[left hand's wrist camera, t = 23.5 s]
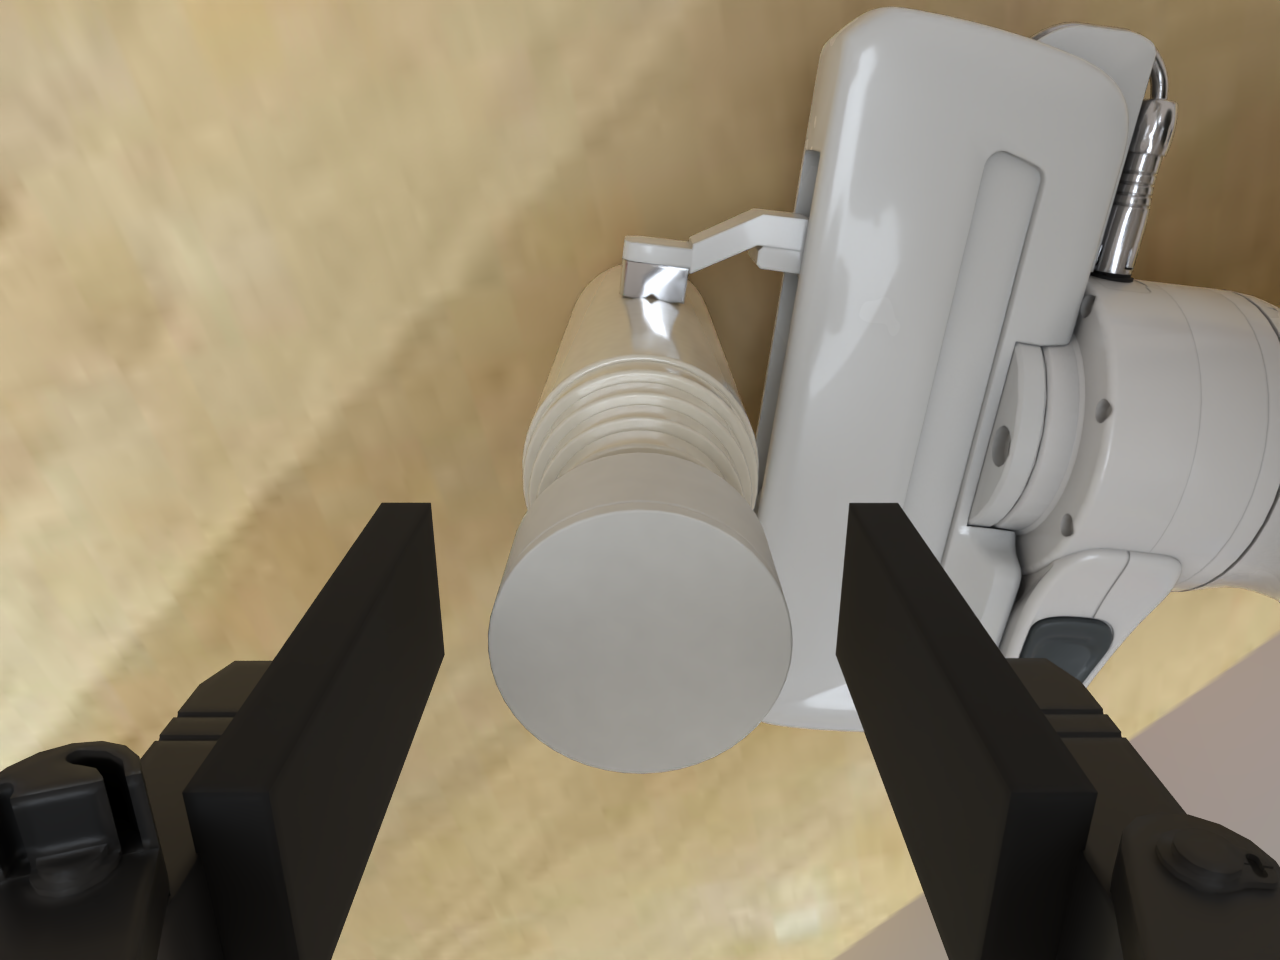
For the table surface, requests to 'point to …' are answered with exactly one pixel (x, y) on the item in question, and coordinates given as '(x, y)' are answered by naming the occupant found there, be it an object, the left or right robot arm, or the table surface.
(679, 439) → the bottle
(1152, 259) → the table surface
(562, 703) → the cap
